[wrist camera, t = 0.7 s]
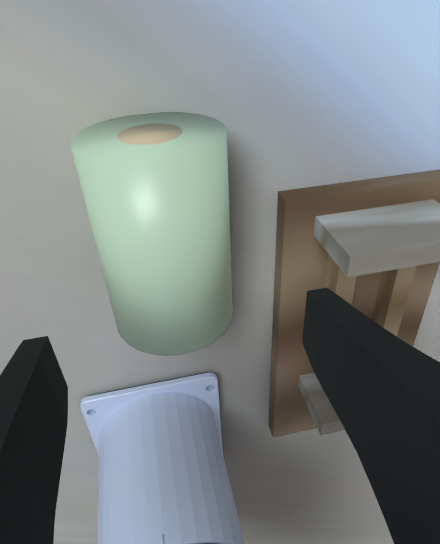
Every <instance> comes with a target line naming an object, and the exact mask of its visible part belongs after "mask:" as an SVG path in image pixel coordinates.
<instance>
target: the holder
mask: <svg viewBox="0 0 440 544" xmlns="http://www.w3.org/2000/svg"><path fill="white" fill-rule="evenodd" d="M439 263H440V170H434V171H427V172H419V173H412V174H404V175H397V176H390V177H382V178H375V179H368V180H360V181H353V182H345V183H338V184H331V185H323V186H316V187H309V188H301V189H294V190H286V191H279V192H278V209H277V233H276V257H275V281H274V306H273V330H272V354H271V379H270V403H269V428H270V431H271V433H272V436H273V437H278V436H282V435H287V434H291V433H296V432H300V431H304V430H309V429H313V428H318V430H319V432H320V434H321V435H323V434H328V433H332V432H336V431H341V430H345V428H344V427H343V425H342V423H341V421H340V419H339V418H338V416H337V414H336V412H335V410H334V409H333V407H332V405H331V403H330V401H329V399H328V398H327V396H326V394H325V392H324V390H323V388H322V387H321V385H320V383H319V381H318V379H317V377H316V375H315V374H314V371H313V369H312V366H311V364H310V362H309V359H308V356H307V354H306V351H305V349H304V346H303V343H302V337H303V327H304V317H305V307H306V297H307V291H310V290H315V289H321V288H329V289H330V290H331V291H333V292H334V293H336V294H337V295H338V296H340V297H341V298H342V299H344V300H345V301H347V302H348V303H349V304H351V305H352V306H353V307H355V308H356V309H358V310H359V311H360V312H362V313H363V314H364V315H366V316H367V317H369V318H370V319H372V320H373V321H374V322H376V323H377V324H379V325H380V326H382V327H383V328H385V329H386V330H388V331H389V332H390V333H392V334H394V335H395V336H397V337H398V338H400V339H401V340H403V341H404V342H406V343H408V344H409V345H411V346H413V344H414V341H415V338H416V335H417V332H418V329H419V325H420V322H421V319H422V316H423V313H424V310H425V307H426V303H427V300H428V297H429V294H430V291H431V288H432V285H433V282H434V278H435V275H436V272H437V269H438V266H439Z"/></svg>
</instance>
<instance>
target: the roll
mask: <svg viewBox="0 0 440 544" xmlns="http://www.w3.org/2000/svg"><path fill="white" fill-rule="evenodd" d="M71 149H72V153H73V157H74V160H75V164H76V168H77V172H78V176H79V180H80V184H81V188H82V192H83V196H84V200H85V204H86V208H87V212H88V215H89V219H90V223H91V227H92V231H93V235H94V239H95V243H96V247H97V251H98V255H99V259H100V263H101V267H102V270H103V274H104V278H105V282H106V286H107V290H108V294H109V298H110V302H111V306H112V310H113V314H114V318H115V322H116V325H117V329H118V332H119V334H120V336H121V337H122V338H123V340H124V341H125V342H126V343H128V344H129V345H130V346H132V347H133V348H135V349H137V350H140V351H142V352H145V353H149V354H154V355H165V356H166V355H180V354H185V353H189V352H193V351H196V350H199V349H201V348H203V347H205V346H207V345H209V344H211V343H212V342H214V341H215V340H217V339H218V338H219V337H220V336H221V335H222V334H223V333H224V332H225V331H226V329H227V328H228V326H229V324H230V322H231V319H232V315H233V302H232V272H231V242H230V213H229V183H228V153H227V128H226V127H225V125H224V124H223V123H222V122H220V121H219V120H216V119H214V118H211V117H208V116H204V115H199V114H192V113H181V112H160V113H150V114H140V115H130V116H124V117H119V118H115V119H111V120H107V121H103V122H100V123H97V124H95V125H92V126H90V127H88V128H86V129H84V130H82V131H81V132H79V133H78V134H76V135H75V136H74V137H73V139H72V141H71Z"/></svg>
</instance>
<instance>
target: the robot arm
mask: <svg viewBox="0 0 440 544" xmlns="http://www.w3.org/2000/svg"><path fill="white" fill-rule="evenodd" d="M302 343H303V346H304V349H305V351H306V354H307V356H308V359H309V362H310V364H311V366H312V369H313V371H314V374H315V375H316V377H317V379H318V381H319V383H320V385H321V387H322V388H323V390H324V392H325V394H326V396H327V398H328V399H329V401H330V403H331V405H332V407H333V409H334V410H335V412H336V414H337V416H338V418H339V419H340V421H341V423H342V425H343V427H344V428H345V430H346V432H347V434H348V436H349V437H350V439H351V441H352V443H353V445H354V447H355V449H356V451H357V453H358V456H359V458H360V460H361V463H362V465H363V467H364V470H365V472H366V474H367V477H368V479H369V481H370V484H371V486H372V488H373V491H374V493H375V496H376V498H377V501H378V503H379V506H380V508H381V511H382V513H383V516H384V518H385V521H386V523H387V526H388V528H389V531H390V534H391V536H392V539H393V542H394V544H440V362H438V361H436V360H435V359H433V358H431V357H429V356H428V355H426V354H424V353H422V352H421V351H419V350H417V349H416V348H414V347H413V346H411V345H409V344H408V343H406V342H404V341H403V340H401V339H400V338H398V337H397V336H395V335H394V334H392V333H390V332H389V331H388V330H386V329H385V328H383V327H382V326H380V325H379V324H377V323H376V322H374V321H373V320H372V319H370V318H369V317H367V316H366V315H364V314H363V313H362V312H360V311H359V310H358V309H356V308H355V307H353V306H352V305H351V304H349V303H348V302H347V301H345V300H344V299H342V298H341V297H340V296H338V295H337V294H336V293H334V292H333V291H331V290H330V289H329V288H321V289H315V290H310V291H307V297H306V307H305V317H304V327H303V337H302ZM210 385H211V386H210ZM80 408H81V411H82V413H83V416H84V418H85V421H86V424H87V426H88V429H89V431H90V434H91V437H92V439H93V442H94V445H95V447H96V450H97V452H98V455H99V471H98V518H97V544H244V540H243V536H242V532H241V527H240V523H239V519H238V515H237V511H236V506H235V502H234V498H233V494H232V490H231V485H230V481H229V477H228V473H227V469H226V464H225V460H224V456H223V447H222V433H221V419H220V405H219V390H218V379H217V376H216V374H214V373H204V374H199V375H194V376H189V377H183V378H178V379H173V380H168V381H163V382H158V383H153V384H148V385H143V386H138V387H133V388H127V389H122V390H117V391H112V392H107V393H102V394H97V395H92V396H87V397H84V398H83V399H82V400H81V404H80ZM90 409H92V410H90ZM67 415H68V387H67V384H66V381H65V379H64V376H63V374H62V371H61V369H60V366H59V364H58V361H57V359H56V356H55V354H54V351H53V348H52V346H51V343H50V341H49V338H48V336H45V337H40V338H34V339H28V340H23V342H22V343H21V344H20V346H19V347H18V349H17V350H16V352H15V353H14V355H13V356H12V358H11V360H10V361H9V363H8V364H7V366H6V367H5V369H4V370H3V372H2V373H1V375H0V544H53V537H54V521H55V510H56V502H57V495H58V488H59V481H60V474H61V466H62V459H63V452H64V445H65V437H66V430H67Z"/></svg>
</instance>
